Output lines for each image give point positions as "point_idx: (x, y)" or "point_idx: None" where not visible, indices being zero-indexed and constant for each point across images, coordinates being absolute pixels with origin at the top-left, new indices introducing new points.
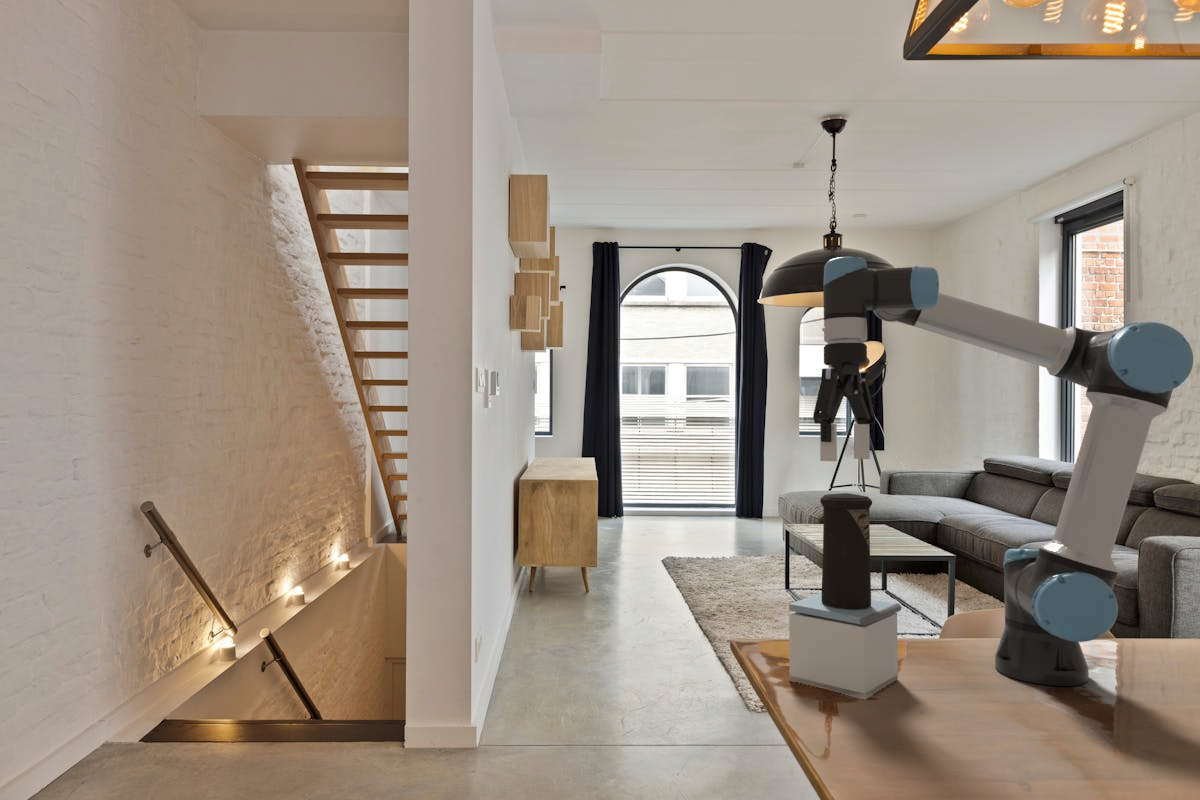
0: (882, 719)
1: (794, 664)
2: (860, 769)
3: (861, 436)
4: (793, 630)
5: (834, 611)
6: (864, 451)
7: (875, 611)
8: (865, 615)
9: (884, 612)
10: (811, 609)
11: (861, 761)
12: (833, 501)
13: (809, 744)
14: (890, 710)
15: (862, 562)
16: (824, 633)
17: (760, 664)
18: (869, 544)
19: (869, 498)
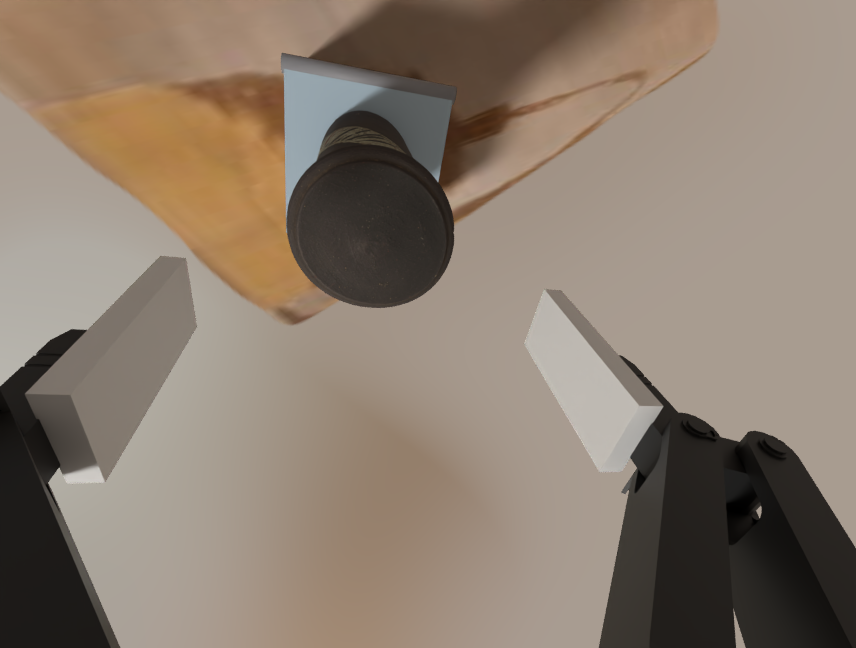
0: (493, 39)
1: None
2: (663, 21)
3: (136, 368)
4: None
5: (435, 162)
6: (173, 296)
7: (385, 90)
8: (431, 99)
9: (373, 72)
10: None
11: (641, 27)
12: (451, 250)
13: (611, 104)
14: (452, 36)
15: (393, 134)
16: None
17: None
18: (361, 130)
19: (337, 162)
